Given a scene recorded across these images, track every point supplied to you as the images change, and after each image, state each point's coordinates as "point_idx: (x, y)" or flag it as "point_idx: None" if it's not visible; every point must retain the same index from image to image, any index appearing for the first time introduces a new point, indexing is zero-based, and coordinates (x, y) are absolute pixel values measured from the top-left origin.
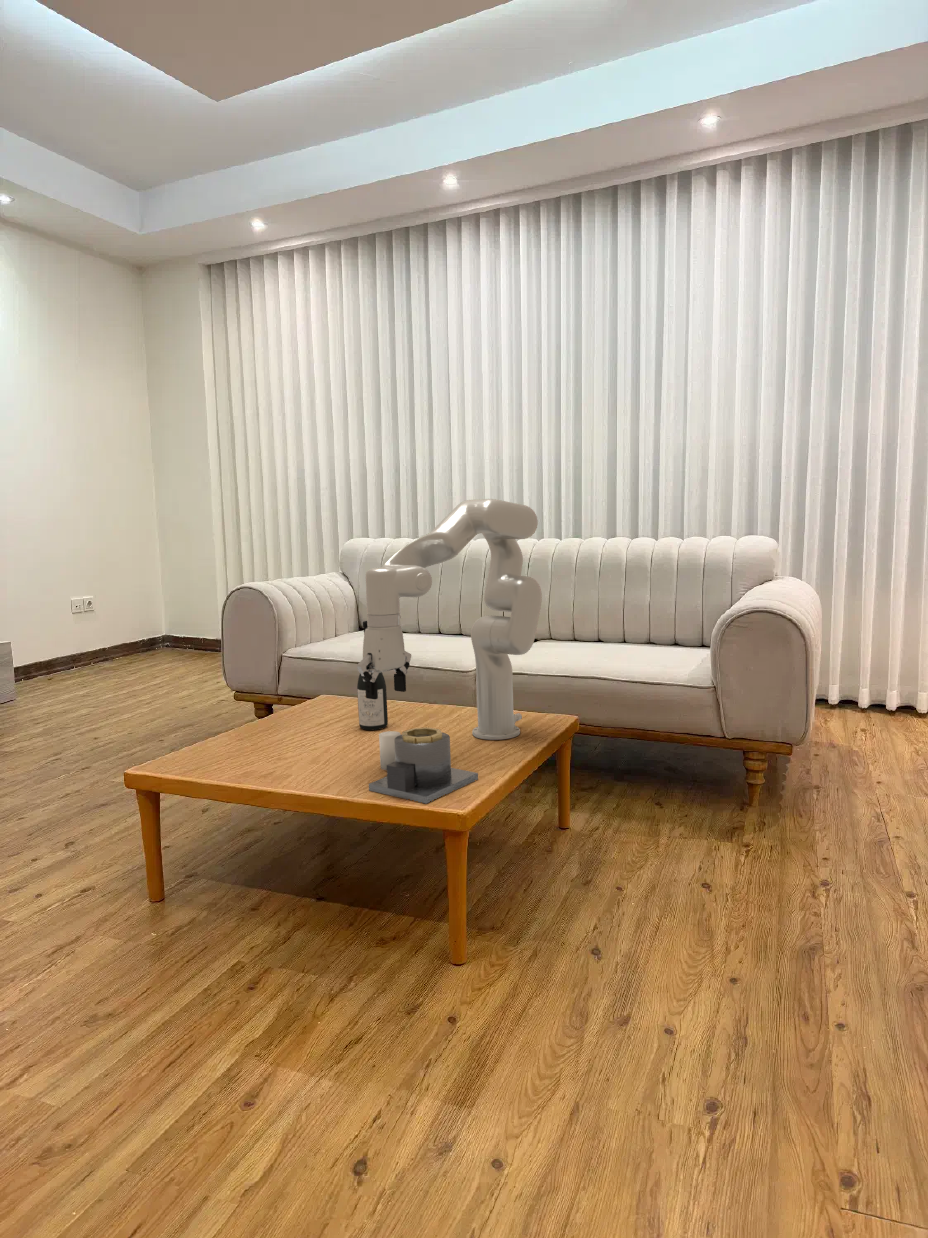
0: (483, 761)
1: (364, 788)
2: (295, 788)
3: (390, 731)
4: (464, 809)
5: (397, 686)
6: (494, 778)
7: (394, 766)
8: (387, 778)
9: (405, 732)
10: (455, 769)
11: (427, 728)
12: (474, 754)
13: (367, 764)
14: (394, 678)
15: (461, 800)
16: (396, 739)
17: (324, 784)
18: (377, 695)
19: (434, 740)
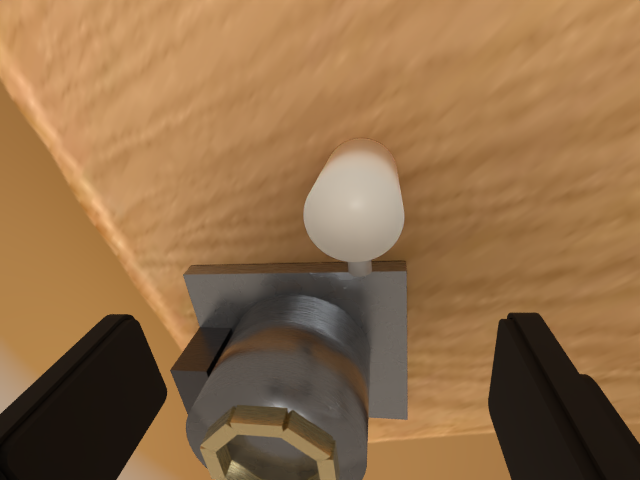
0: None
1: (192, 245)
2: (42, 84)
3: (389, 189)
4: None
5: (509, 387)
6: (433, 425)
7: (179, 390)
8: (188, 345)
9: (232, 433)
10: (401, 373)
11: (320, 462)
12: (618, 302)
13: (334, 74)
14: (558, 446)
15: None
16: (206, 403)
17: (124, 129)
18: (148, 420)
19: None
